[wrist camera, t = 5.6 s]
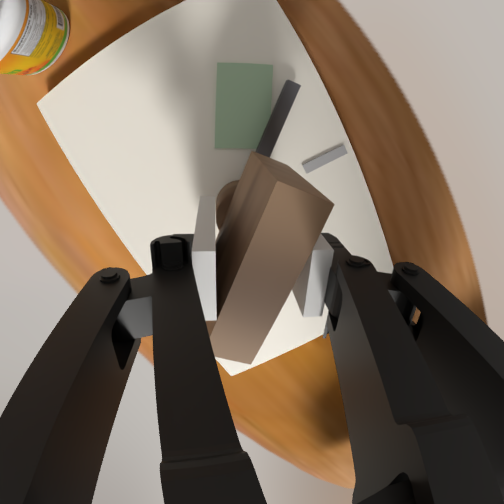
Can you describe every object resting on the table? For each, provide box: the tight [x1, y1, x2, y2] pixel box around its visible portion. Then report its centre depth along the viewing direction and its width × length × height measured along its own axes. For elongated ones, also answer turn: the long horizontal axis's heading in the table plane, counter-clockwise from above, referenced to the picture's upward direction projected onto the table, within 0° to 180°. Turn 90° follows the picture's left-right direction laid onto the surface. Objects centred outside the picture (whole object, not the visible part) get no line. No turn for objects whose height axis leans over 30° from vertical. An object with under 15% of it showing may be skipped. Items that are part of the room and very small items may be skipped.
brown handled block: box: [206, 80, 335, 365], centre depth 14 cm, size 12×3×10 cm, turn 158°
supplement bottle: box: [0, 0, 69, 75], centre depth 10 cm, size 5×5×10 cm
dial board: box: [37, 0, 393, 376], centre depth 20 cm, size 26×16×2 cm, turn 28°
